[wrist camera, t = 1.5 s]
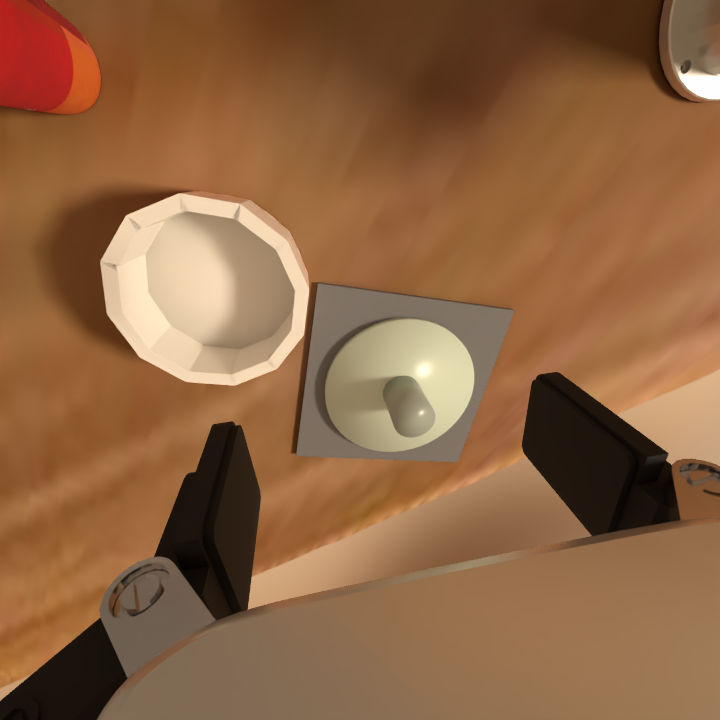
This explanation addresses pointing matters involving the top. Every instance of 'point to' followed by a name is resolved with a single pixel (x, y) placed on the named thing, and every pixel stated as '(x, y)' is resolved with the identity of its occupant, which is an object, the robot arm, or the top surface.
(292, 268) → the bowl
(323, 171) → the top surface
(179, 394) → the top surface
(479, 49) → the top surface
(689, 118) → the top surface
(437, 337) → the lid
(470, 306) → the mat
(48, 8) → the paper cup
